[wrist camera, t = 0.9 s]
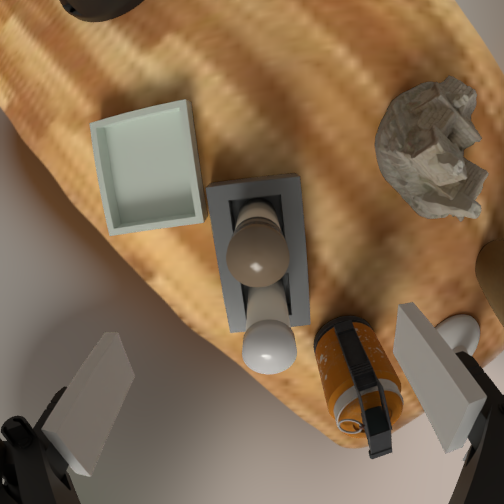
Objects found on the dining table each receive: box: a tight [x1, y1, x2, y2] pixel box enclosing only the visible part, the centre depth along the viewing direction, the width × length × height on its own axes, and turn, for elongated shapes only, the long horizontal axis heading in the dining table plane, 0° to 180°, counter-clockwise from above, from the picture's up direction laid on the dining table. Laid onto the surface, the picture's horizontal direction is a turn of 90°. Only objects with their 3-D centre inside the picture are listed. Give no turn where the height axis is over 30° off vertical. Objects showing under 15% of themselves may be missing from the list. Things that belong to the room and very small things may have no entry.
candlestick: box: [435, 314, 480, 356], centre depth 31 cm, size 13×13×30 cm
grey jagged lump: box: [375, 76, 488, 222], centre depth 29 cm, size 16×16×15 cm
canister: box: [314, 316, 403, 459], centre depth 35 cm, size 9×11×20 cm
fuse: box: [242, 278, 297, 374], centre depth 34 cm, size 5×5×14 cm
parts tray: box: [90, 99, 208, 236], centre depth 35 cm, size 14×12×3 cm
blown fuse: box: [226, 198, 290, 288], centre depth 31 cm, size 5×5×14 cm
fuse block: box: [206, 173, 310, 333], centre depth 38 cm, size 18×10×4 cm, turn 7°
